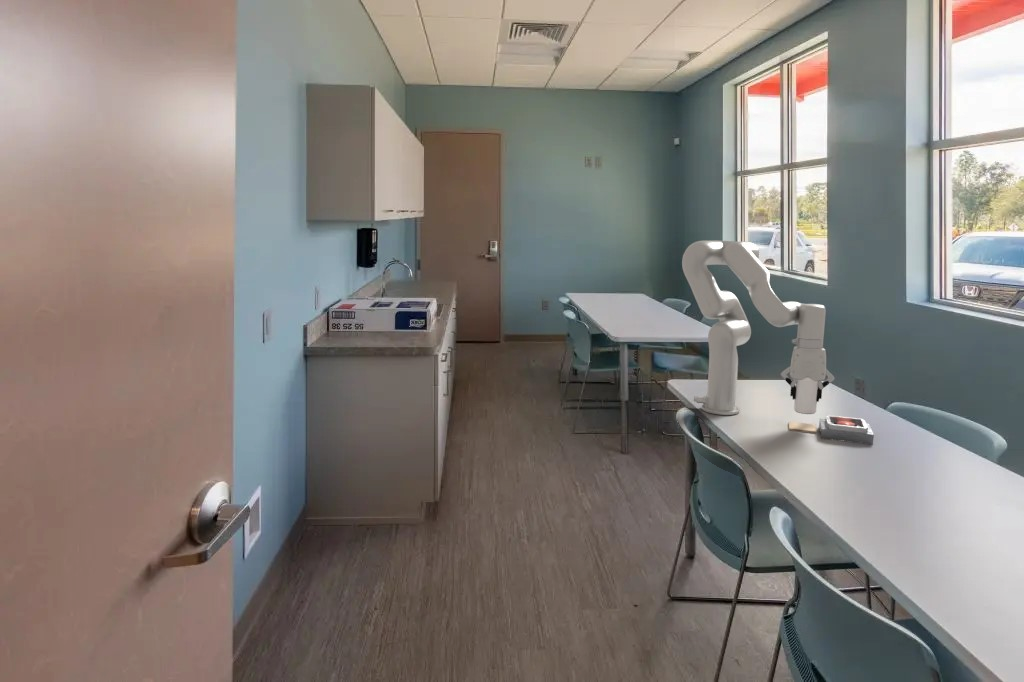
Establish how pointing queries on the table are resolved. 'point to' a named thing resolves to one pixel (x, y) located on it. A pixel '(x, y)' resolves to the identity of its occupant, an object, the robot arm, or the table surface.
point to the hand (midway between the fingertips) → (805, 399)
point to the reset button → (845, 423)
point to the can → (806, 396)
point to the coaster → (802, 427)
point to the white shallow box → (846, 429)
